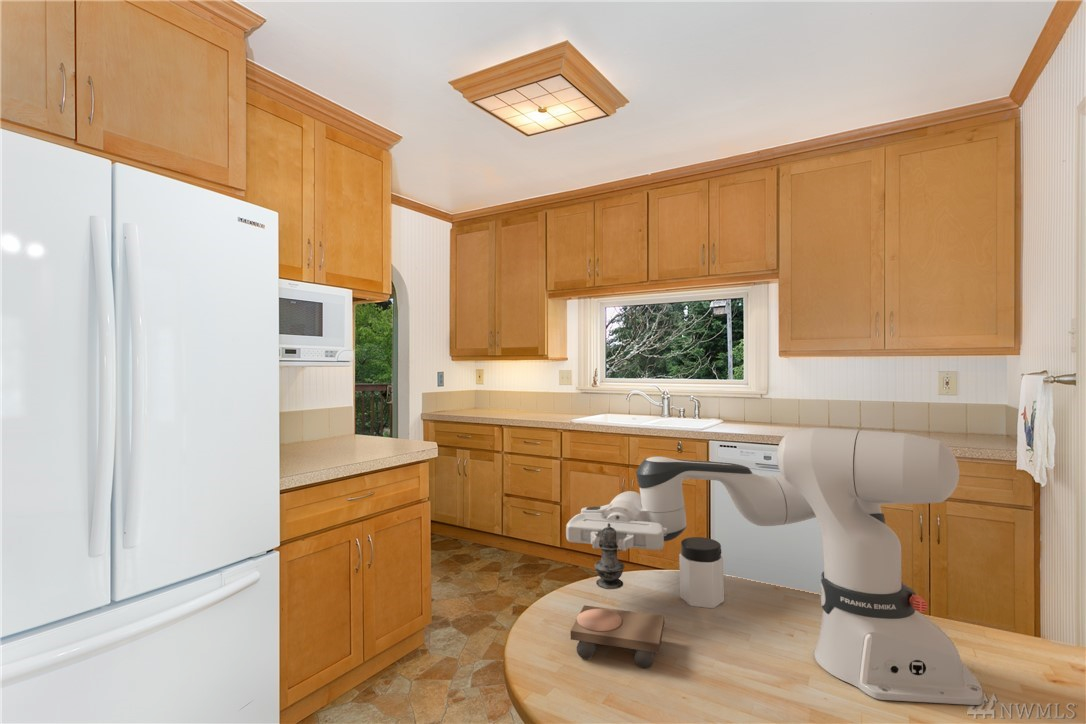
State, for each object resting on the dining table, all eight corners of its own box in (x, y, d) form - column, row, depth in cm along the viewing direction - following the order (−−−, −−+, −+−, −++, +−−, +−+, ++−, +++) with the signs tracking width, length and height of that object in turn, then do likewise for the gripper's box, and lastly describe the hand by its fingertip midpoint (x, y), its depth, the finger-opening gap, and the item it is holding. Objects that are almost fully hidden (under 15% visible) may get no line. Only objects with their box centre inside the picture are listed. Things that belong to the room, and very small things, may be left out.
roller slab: (664, 640, 97) (664, 614, 97) (659, 671, 88) (658, 642, 88) (584, 628, 102) (584, 604, 102) (570, 656, 92) (570, 629, 92)
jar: (730, 606, 110) (730, 548, 110) (694, 611, 108) (694, 552, 108) (708, 588, 119) (707, 534, 119) (674, 592, 117) (673, 538, 117)
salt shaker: (626, 589, 102) (626, 527, 102) (596, 590, 102) (595, 527, 102) (622, 577, 108) (621, 518, 108) (593, 577, 108) (592, 518, 108)
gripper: (668, 543, 114) (662, 567, 101) (576, 534, 121) (559, 556, 108) (668, 513, 114) (662, 534, 101) (575, 506, 121) (558, 525, 107)
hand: (608, 545), depth 104 cm, fingers closed on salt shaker, 4 cm apart
